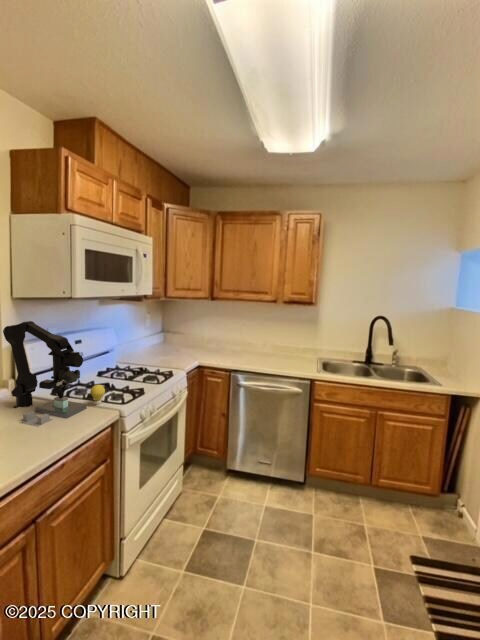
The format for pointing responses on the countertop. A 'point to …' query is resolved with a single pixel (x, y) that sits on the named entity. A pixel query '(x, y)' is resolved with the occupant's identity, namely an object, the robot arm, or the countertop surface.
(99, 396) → the light bulb
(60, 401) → the plug
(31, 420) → the holster
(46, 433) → the countertop surface
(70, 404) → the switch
